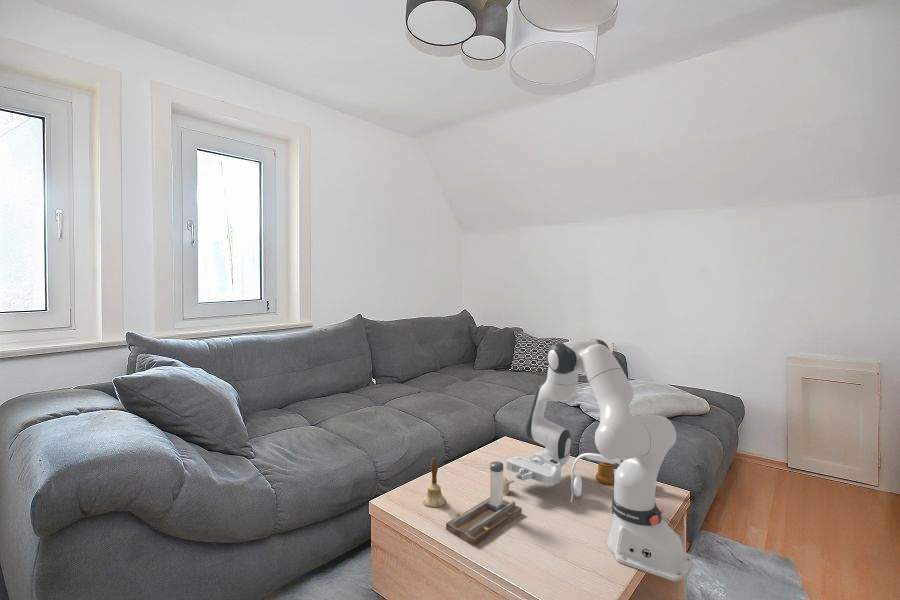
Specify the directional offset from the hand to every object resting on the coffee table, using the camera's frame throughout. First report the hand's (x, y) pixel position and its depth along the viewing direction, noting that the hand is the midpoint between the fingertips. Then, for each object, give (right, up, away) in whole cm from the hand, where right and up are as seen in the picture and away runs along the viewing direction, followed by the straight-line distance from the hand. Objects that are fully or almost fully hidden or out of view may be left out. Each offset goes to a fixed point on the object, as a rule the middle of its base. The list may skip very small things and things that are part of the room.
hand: (519, 477), depth 156 cm
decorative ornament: (-5, -8, +6) cm, 12 cm away
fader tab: (-9, -6, -9) cm, 14 cm away
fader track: (-13, -9, -13) cm, 21 cm away
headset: (+28, -9, -3) cm, 29 cm away
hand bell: (-30, -8, -1) cm, 32 cm away
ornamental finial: (+36, -7, +14) cm, 39 cm away
